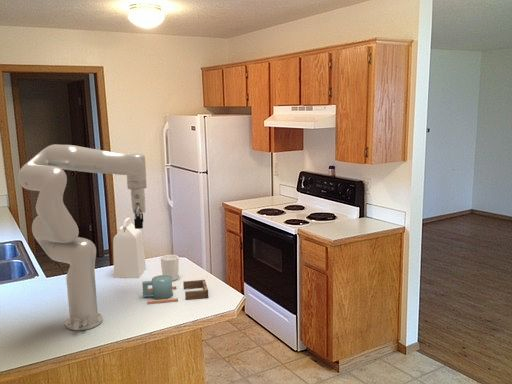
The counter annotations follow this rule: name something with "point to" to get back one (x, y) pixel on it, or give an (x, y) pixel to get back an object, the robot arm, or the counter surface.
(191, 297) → the brown wooden frame
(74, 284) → the robot arm
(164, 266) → the white cup
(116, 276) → the milk
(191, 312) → the counter surface
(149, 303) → the strips
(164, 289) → the jug
